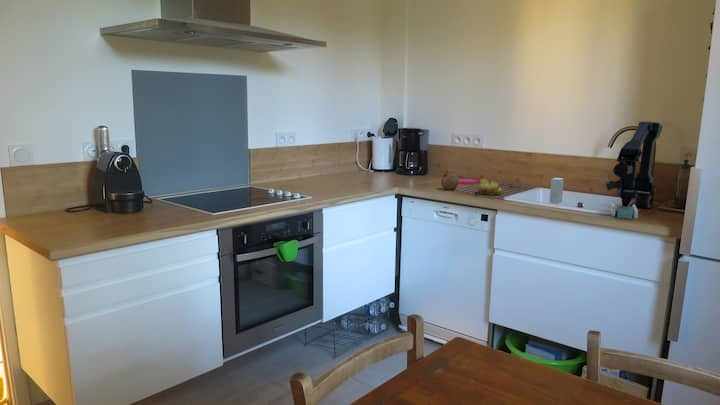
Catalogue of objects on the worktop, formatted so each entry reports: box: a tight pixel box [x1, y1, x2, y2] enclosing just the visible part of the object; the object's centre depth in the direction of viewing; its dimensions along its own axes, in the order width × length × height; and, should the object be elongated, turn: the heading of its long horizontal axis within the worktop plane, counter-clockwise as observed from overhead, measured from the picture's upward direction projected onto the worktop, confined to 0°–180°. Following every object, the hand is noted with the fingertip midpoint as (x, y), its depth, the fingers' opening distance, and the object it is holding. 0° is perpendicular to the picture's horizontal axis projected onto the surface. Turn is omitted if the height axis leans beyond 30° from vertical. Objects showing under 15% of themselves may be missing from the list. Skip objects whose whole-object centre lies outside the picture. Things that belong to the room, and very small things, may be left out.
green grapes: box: [477, 177, 503, 196], centre depth 272 cm, size 13×10×8 cm
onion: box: [440, 173, 459, 191], centre depth 284 cm, size 10×9×10 cm
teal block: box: [616, 205, 633, 220], centre depth 224 cm, size 6×6×4 cm
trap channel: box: [609, 202, 639, 219], centre depth 230 cm, size 15×10×3 cm, turn 157°
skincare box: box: [548, 177, 565, 205], centre depth 251 cm, size 6×4×12 cm
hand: (623, 209), depth 228 cm, fingers closed
